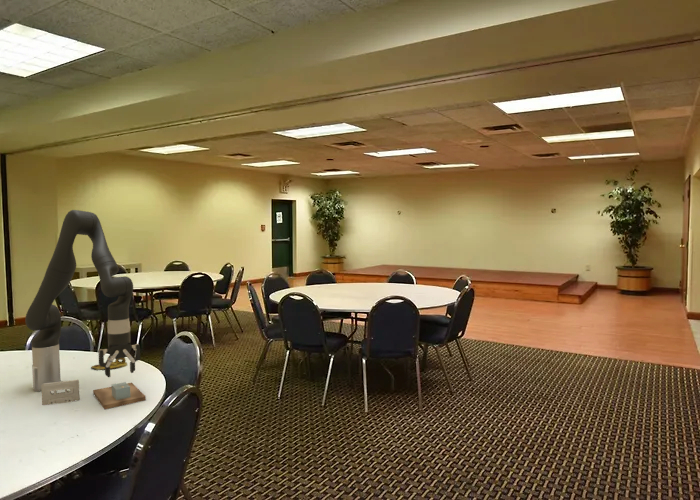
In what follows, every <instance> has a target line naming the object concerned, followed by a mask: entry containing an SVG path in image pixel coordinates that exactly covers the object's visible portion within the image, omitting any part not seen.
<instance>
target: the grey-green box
mask: <svg viewBox="0 0 700 500" xmlns="http://www.w3.org/2000/svg"><path fill="white" fill-rule="evenodd" d="M111 387H112V396H113V397H114V398H115V399H116V400H120V399H125V398H129V397H130V386H129V385H128V384H127V382H126V381H123V382H119V383H113V384H111Z"/></svg>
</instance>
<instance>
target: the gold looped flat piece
mask: <svg viewBox="0 0 700 500" xmlns="http://www.w3.org/2000/svg"><path fill="white" fill-rule="evenodd" d="M114 360H115V361H113V362H112V363H111V364H110V366H109V367H110V371H112V370H117V369H121V368H125V367H127V366H128V363H127V362H126V361H127V359H126V357H125V358H119V359H114ZM90 369H91V370H94V371H98V370H102V371H105V367H101V366H100V365H99V364H95V365H92V366H90Z"/></svg>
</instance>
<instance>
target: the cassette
mask: <svg viewBox="0 0 700 500" xmlns="http://www.w3.org/2000/svg"><path fill="white" fill-rule="evenodd" d="M41 390H42V391H41V405H42V406H45V405H55V404H56V405H57V404H63V403H71V401H72V402H76V401H75V400H77V401H80V399H81V398H80V396H81V395H80V380H79V379H71V380H64V381H62V380H61V382H54V383H45V384H42V385H41ZM62 390H64V391H63V392H57V391H62Z"/></svg>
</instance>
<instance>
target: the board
mask: <svg viewBox="0 0 700 500" xmlns="http://www.w3.org/2000/svg"><path fill="white" fill-rule="evenodd" d="M126 383H127V382H126ZM127 384H128V385H129V386H130V397H129V398H125V399H120V400H116V399H115V398H114V397H113V396H112V386H108V387H102V388H97V389H93V390H92V394H93V396H94V395H95V396H94V397H95V398H96V400H97V401H98V402H100V403H99V404H100V406H101V407H102V408H103V409H104V410H107V409H113V408H117V407H122V406H126V405H131V404H135V403H140V402H145V401H147V398H146V397H147V396H146V395H145V394H144V393H143V392H142V391H141V390H140V389H139V388H138V387H137V386H136V385H135V384H134V383H133V382H128V383H127Z"/></svg>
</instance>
